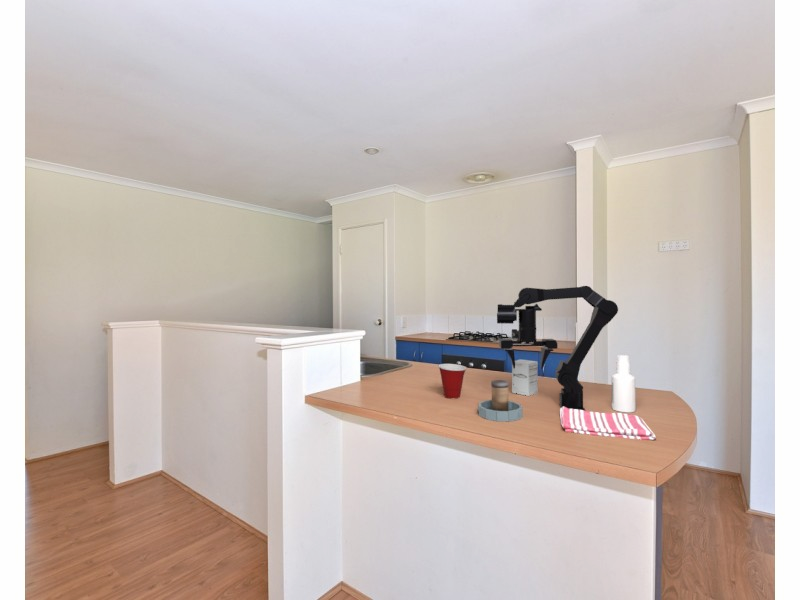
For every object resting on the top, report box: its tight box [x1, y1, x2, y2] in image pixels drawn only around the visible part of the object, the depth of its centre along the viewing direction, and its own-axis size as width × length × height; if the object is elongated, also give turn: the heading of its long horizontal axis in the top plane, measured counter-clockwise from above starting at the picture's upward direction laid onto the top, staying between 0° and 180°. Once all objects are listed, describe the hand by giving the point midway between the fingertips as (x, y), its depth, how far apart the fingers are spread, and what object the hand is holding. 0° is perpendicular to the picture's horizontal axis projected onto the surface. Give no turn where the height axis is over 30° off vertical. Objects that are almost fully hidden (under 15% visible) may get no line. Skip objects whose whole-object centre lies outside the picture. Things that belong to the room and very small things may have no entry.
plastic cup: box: [438, 363, 468, 399], centre depth 150 cm, size 11×11×12 cm
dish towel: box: [559, 406, 657, 441], centre depth 115 cm, size 17×23×4 cm
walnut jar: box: [490, 379, 510, 411], centre depth 127 cm, size 5×5×10 cm
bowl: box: [477, 399, 524, 422], centre depth 127 cm, size 14×14×3 cm
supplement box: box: [511, 358, 539, 397], centre depth 153 cm, size 7×7×13 cm
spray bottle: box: [611, 354, 636, 414], centre depth 130 cm, size 7×7×18 cm
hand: (527, 368), depth 136 cm, fingers open, 9 cm apart
